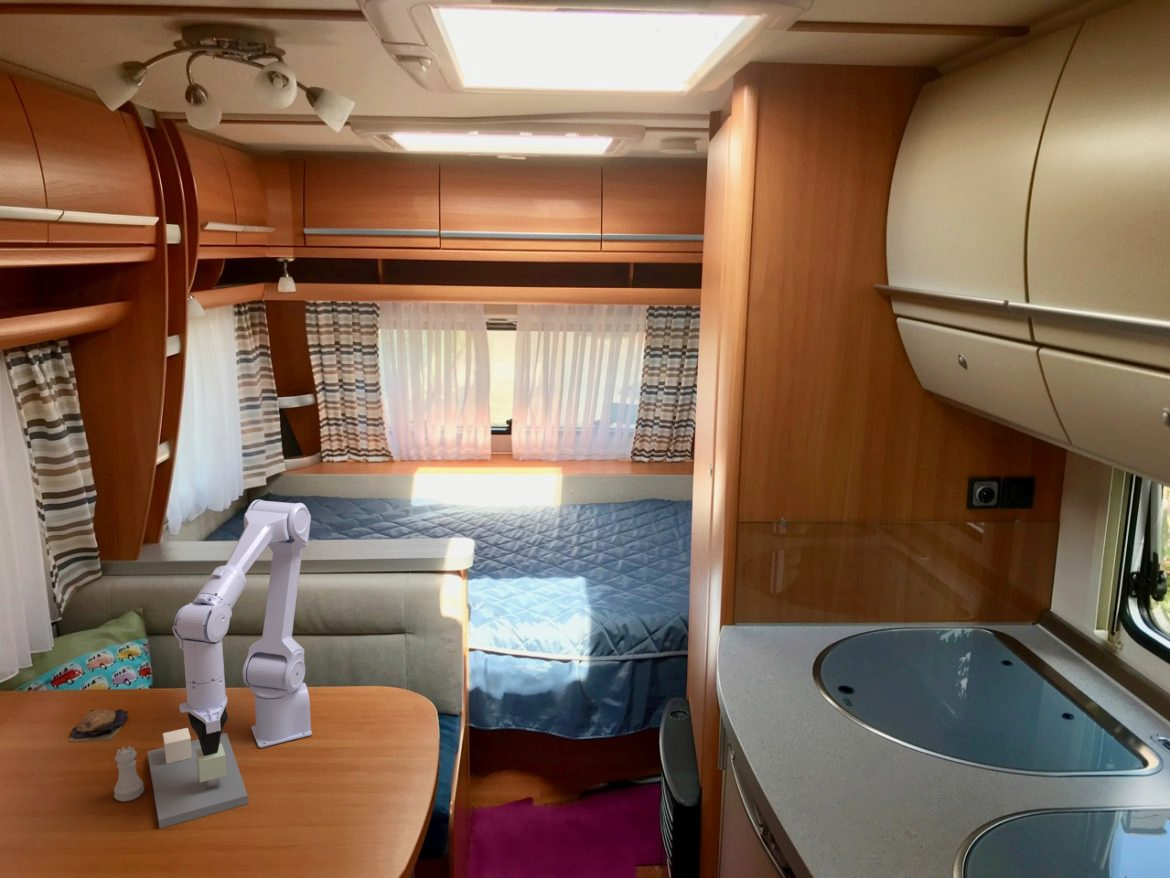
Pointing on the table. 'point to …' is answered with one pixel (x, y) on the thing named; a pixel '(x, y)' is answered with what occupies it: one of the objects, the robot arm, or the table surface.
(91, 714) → the abalone
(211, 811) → the panel
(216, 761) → the pale green cube
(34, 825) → the table surface
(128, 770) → the rook chess piece
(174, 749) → the cream matte cube
